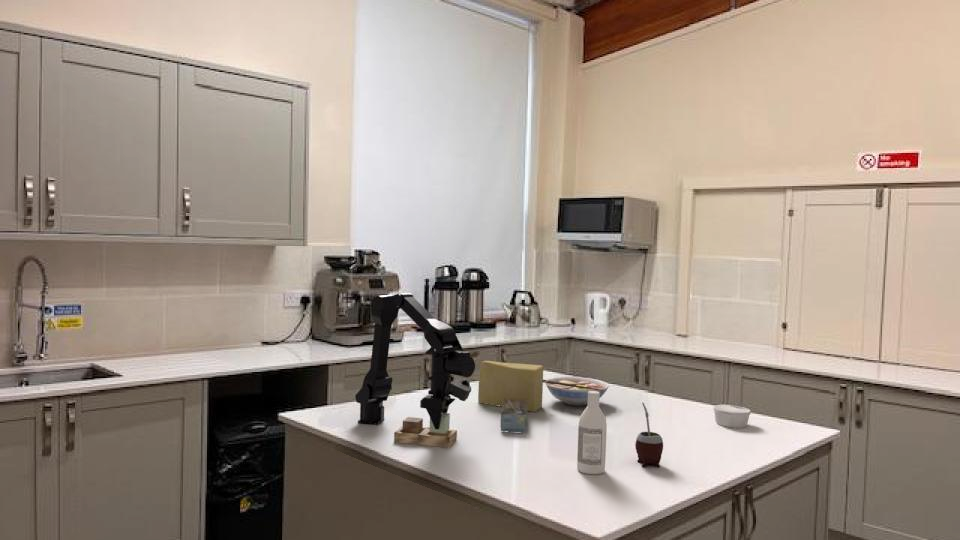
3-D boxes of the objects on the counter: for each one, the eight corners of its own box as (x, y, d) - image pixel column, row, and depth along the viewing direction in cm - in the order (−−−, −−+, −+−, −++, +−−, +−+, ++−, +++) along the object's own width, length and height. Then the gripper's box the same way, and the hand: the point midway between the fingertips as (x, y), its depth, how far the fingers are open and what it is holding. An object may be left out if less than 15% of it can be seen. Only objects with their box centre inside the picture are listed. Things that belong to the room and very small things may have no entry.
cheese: (473, 405, 239) (474, 362, 238) (483, 399, 248) (484, 358, 247) (534, 413, 231) (536, 368, 230) (543, 407, 240) (544, 364, 239)
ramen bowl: (621, 403, 249) (622, 380, 249) (596, 415, 230) (596, 391, 229) (558, 392, 262) (559, 371, 262) (529, 404, 243) (530, 381, 243)
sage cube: (445, 433, 192) (445, 417, 192) (429, 431, 193) (429, 415, 193) (449, 429, 196) (449, 413, 196) (434, 427, 197) (434, 412, 197)
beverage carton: (499, 432, 207) (500, 411, 206) (502, 416, 226) (503, 396, 226) (526, 434, 206) (526, 412, 206) (527, 418, 225) (527, 397, 225)
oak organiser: (394, 442, 194) (394, 432, 193) (403, 434, 201) (403, 425, 201) (449, 447, 190) (449, 437, 190) (456, 439, 198) (456, 430, 198)
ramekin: (755, 425, 224) (756, 409, 224) (741, 431, 216) (742, 414, 216) (721, 418, 232) (722, 402, 232) (707, 424, 224) (707, 407, 223)
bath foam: (586, 464, 179) (589, 387, 179) (609, 470, 175) (612, 392, 174) (571, 470, 174) (574, 391, 173) (595, 477, 170) (598, 396, 169)
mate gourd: (654, 470, 176) (657, 412, 175) (626, 463, 181) (629, 406, 180) (667, 464, 181) (670, 407, 181) (640, 457, 187) (642, 402, 186)
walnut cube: (402, 436, 195) (402, 420, 195) (407, 432, 199) (407, 416, 199) (417, 438, 194) (417, 422, 194) (422, 433, 198) (422, 418, 198)
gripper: (460, 380, 183) (458, 438, 184) (476, 368, 201) (475, 421, 202) (420, 377, 186) (418, 434, 186) (439, 365, 204) (438, 417, 204)
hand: (439, 426), depth 195 cm, fingers closed on sage cube, 4 cm apart
